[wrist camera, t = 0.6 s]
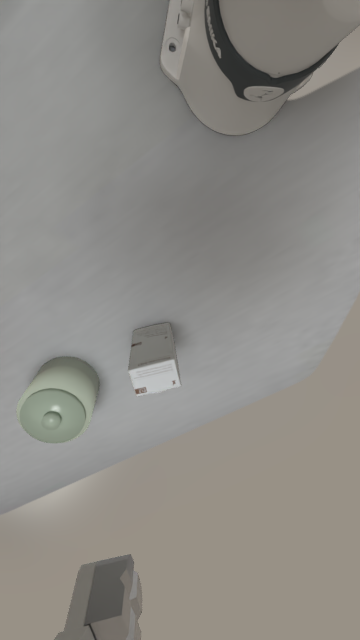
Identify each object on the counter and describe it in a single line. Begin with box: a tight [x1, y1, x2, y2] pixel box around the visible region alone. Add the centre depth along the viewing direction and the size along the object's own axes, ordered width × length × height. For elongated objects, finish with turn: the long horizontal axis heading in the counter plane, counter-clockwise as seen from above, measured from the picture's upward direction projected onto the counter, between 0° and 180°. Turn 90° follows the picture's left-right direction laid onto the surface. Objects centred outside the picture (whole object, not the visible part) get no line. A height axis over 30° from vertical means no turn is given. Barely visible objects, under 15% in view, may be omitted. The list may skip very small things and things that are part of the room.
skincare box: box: [128, 323, 181, 396], centre depth 42 cm, size 6×4×12 cm
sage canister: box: [16, 357, 99, 443], centre depth 45 cm, size 10×10×10 cm
